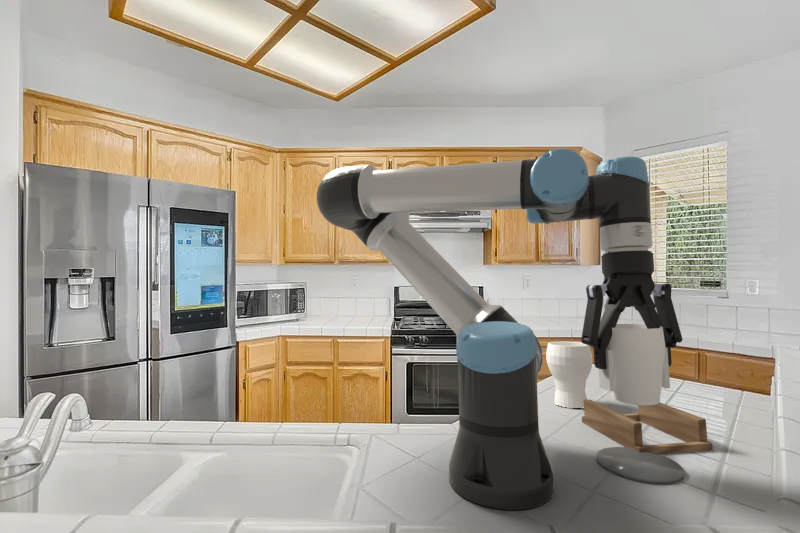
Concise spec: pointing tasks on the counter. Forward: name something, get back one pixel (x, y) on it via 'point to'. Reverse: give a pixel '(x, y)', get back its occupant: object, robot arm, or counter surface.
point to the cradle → (657, 416)
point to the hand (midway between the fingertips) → (634, 387)
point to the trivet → (640, 465)
